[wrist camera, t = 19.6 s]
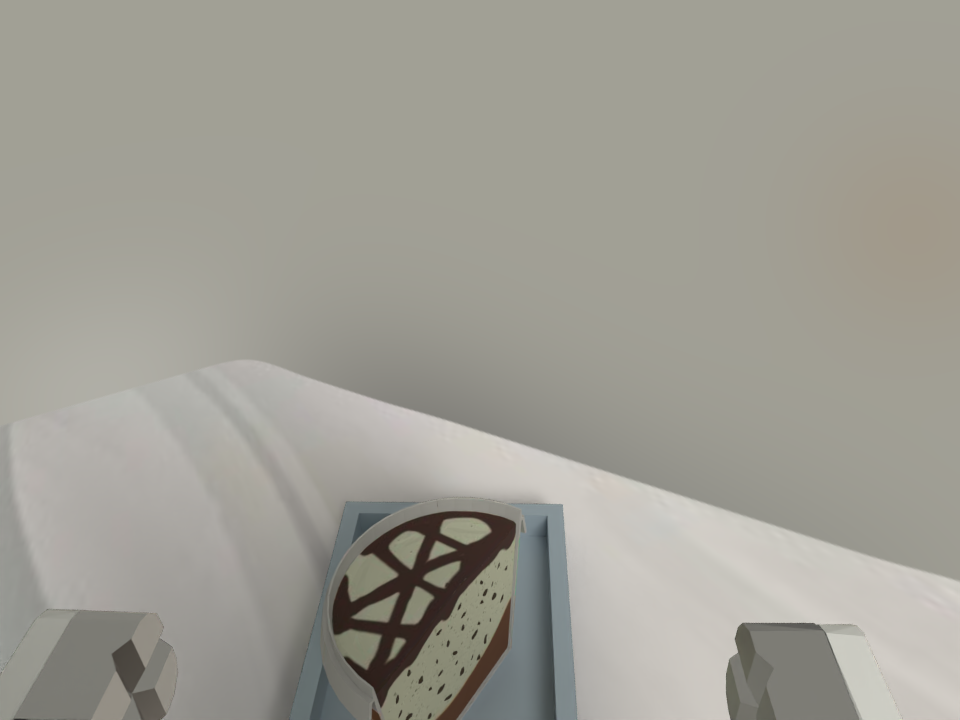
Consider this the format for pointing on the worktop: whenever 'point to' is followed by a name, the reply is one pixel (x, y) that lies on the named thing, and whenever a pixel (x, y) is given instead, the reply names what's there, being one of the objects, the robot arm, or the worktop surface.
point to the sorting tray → (535, 640)
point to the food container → (423, 609)
